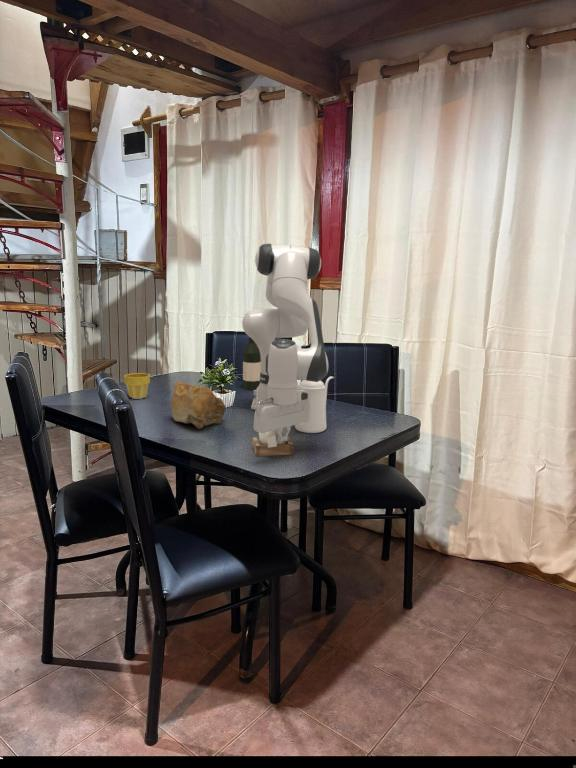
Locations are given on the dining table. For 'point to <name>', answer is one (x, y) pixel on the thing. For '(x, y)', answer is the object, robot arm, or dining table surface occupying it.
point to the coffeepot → (315, 406)
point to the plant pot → (137, 384)
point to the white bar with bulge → (269, 439)
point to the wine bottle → (251, 366)
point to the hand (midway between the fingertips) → (281, 441)
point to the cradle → (273, 448)
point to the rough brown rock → (196, 405)
